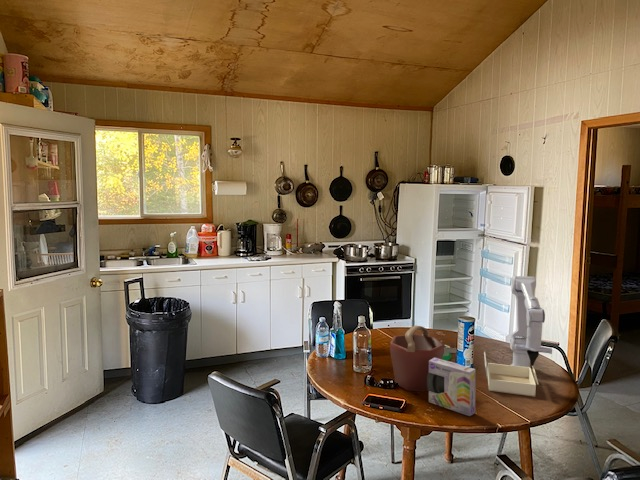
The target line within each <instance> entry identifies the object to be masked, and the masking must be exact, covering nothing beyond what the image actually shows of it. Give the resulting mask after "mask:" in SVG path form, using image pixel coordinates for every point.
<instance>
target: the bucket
mask: <svg viewBox="0 0 640 480" xmlns="http://www.w3.org/2000/svg"><path fill="white" fill-rule="evenodd" d="M418 330H420V331H421V334H416V332H417V331H418ZM429 335H430V333H429V331H428V329H427V328H425V327H424V326H421V325H413V326H411V327H410V328H409V329H408V330H406V332H405V334H400V335H399V334H398V335H394V336H393V337H392V339H391V340H390V343H389V352H390V358H391V364H392V369H393V375H394V381H395V382H396V383H398V385H399V386H398V385H397V386H398V387H400V388H402V389H404V390H405V391H411V392H413V391H414V392H427V391H428V392H429V390H428V387H427V375H428V373H429V360H431V359H433V358H438V359H442V358H443V354H444V344H445V343H444V344H442V343H443V342H442V343H441V342H440V341H441V340H439V339H438V338H437V337H434V336H429ZM396 383H395V384H396Z"/></svg>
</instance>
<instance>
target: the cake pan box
mask: <svg viewBox="0 0 640 480" xmlns="http://www.w3.org/2000/svg"><path fill="white" fill-rule="evenodd" d="M476 372H477V371H476V368H472V367H469V366H465V365H461V364H459V363H457V362H455V363H453V362H449V361H445V360H442V359H438V358H433V359H431V360H429V373H428V375H427V387H428V403H431V404H434V405H436V406H439V407H442V408H445V409H448V410H451V411H454V412H456V413H459V414H462V415H465V416H467V417H471V416H473V415H475V414H476Z"/></svg>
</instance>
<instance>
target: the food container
mask: <svg viewBox="0 0 640 480" xmlns="http://www.w3.org/2000/svg"><path fill="white" fill-rule="evenodd" d="M439 341H440V342H441V343H442V344H444V354H443V358H442V360H445V361H449V362H453V363H456V358H457V357H456V355H457V352H458V351H457V347H454V348H453V346H450V345H449V344H445V343H444V342H443V340H439Z"/></svg>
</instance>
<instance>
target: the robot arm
mask: <svg viewBox="0 0 640 480" xmlns="http://www.w3.org/2000/svg"><path fill="white" fill-rule="evenodd" d="M510 285H511V287H510V288H511V293H512V294H513V295H514V296H515V301H516V302H515V304H516V305H515V306H516V307H515V308H516V311H515V312H516V330H515V331H514V332H512V333H511V334H510V339H509V346H510V347H509V348H510V350H511V351H513V352H512V363H510V365H512V366H521V367H530V368H531V370H532V369H533V368H532V366H533V367H534V364H535V363H536V360H537V359H538V357H539V355H540V353H544V354H549V355H552V354H553V348H552V347H545V346H542V335H543V333H542V332H543V324H544V323H545V320H546V312H545V309H544V308H543V307H541V305H540V302H539V299H538V297H536V296H535V293H534V291H535V289H536V287H537V279H536V277H535V276H533V275H532V276H529V275H527V276H523V275H513V276H512V278H511V284H510Z"/></svg>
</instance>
